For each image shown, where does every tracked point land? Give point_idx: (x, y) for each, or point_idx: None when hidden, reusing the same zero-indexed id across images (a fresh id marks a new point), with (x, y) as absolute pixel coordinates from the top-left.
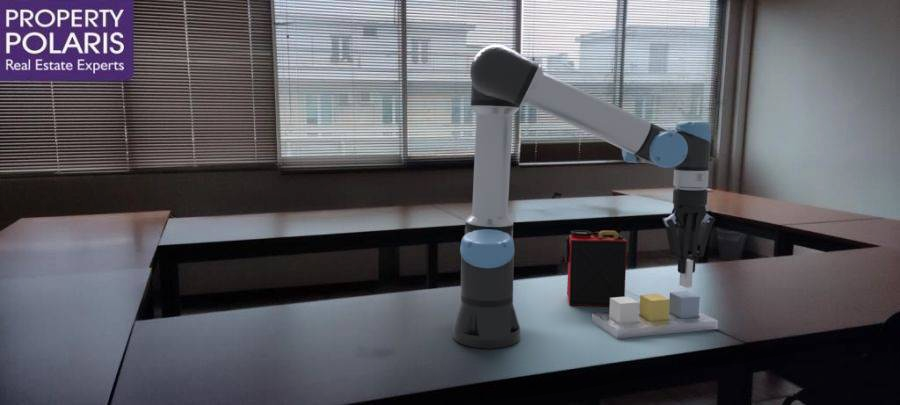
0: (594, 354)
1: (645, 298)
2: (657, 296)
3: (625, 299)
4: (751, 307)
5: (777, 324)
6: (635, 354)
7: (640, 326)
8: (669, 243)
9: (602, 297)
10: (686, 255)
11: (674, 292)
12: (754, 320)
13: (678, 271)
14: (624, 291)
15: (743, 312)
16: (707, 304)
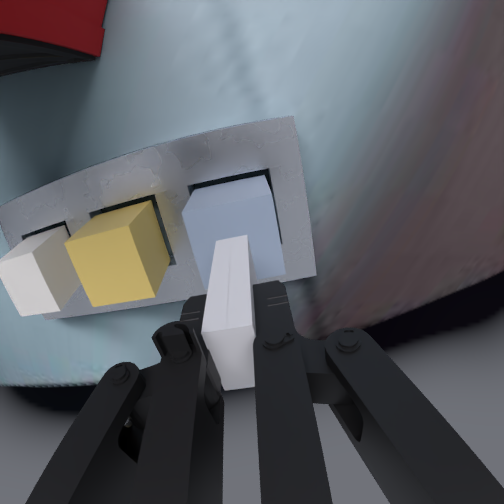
0: (33, 359)
1: (78, 273)
2: (118, 261)
3: (27, 283)
4: (488, 105)
5: (463, 235)
6: (86, 370)
7: (88, 306)
8: (66, 454)
9: (27, 62)
10: (214, 418)
11: (202, 214)
12: (441, 202)
13: (189, 303)
14: (73, 49)
15: (455, 137)
16: (401, 44)
